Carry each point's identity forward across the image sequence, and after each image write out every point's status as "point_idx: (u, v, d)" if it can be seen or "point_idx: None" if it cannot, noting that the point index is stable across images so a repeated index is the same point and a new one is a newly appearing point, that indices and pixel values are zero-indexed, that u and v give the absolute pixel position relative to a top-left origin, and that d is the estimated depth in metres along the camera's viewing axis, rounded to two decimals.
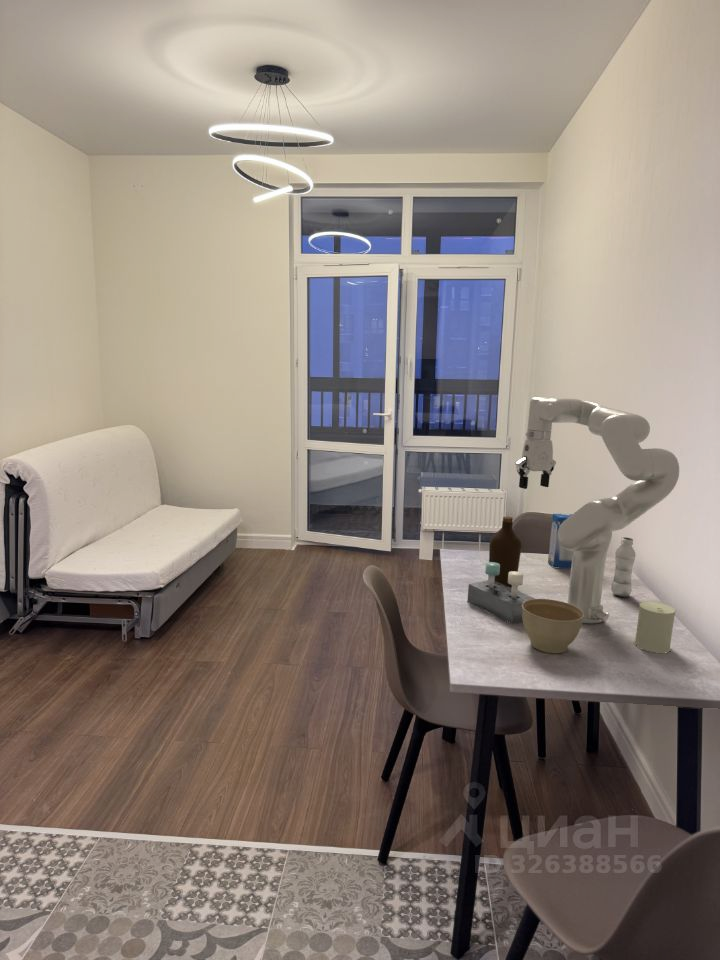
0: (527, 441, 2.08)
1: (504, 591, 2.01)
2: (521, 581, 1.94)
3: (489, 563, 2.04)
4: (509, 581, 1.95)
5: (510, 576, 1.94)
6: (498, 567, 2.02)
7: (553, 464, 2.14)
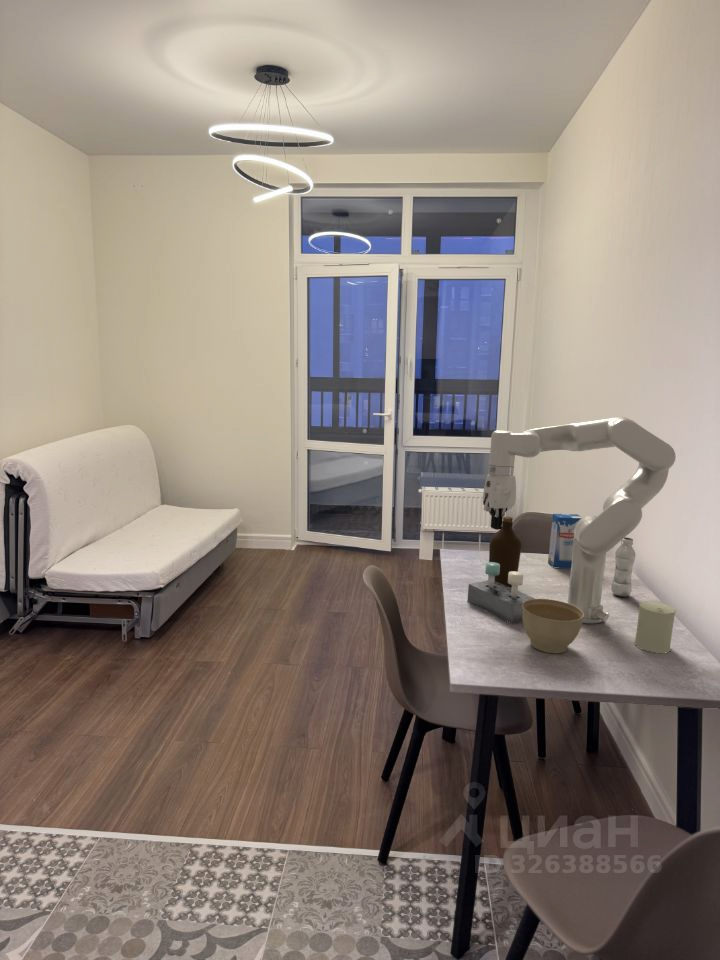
0: (488, 477, 1.96)
1: (504, 591, 2.01)
2: (521, 581, 1.94)
3: (489, 563, 2.04)
4: (509, 581, 1.95)
5: (510, 576, 1.94)
6: (498, 567, 2.02)
7: (508, 507, 2.02)
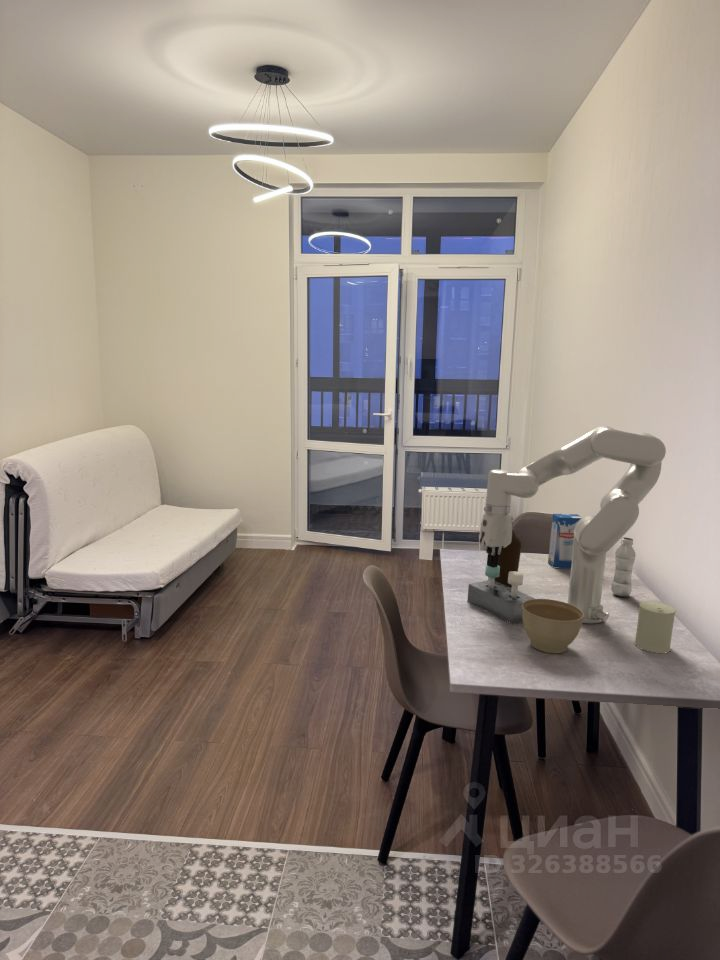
0: (485, 516, 1.99)
1: (504, 591, 2.01)
2: (521, 581, 1.94)
3: None
4: (509, 581, 1.95)
5: (510, 576, 1.94)
6: (498, 569, 2.02)
7: None
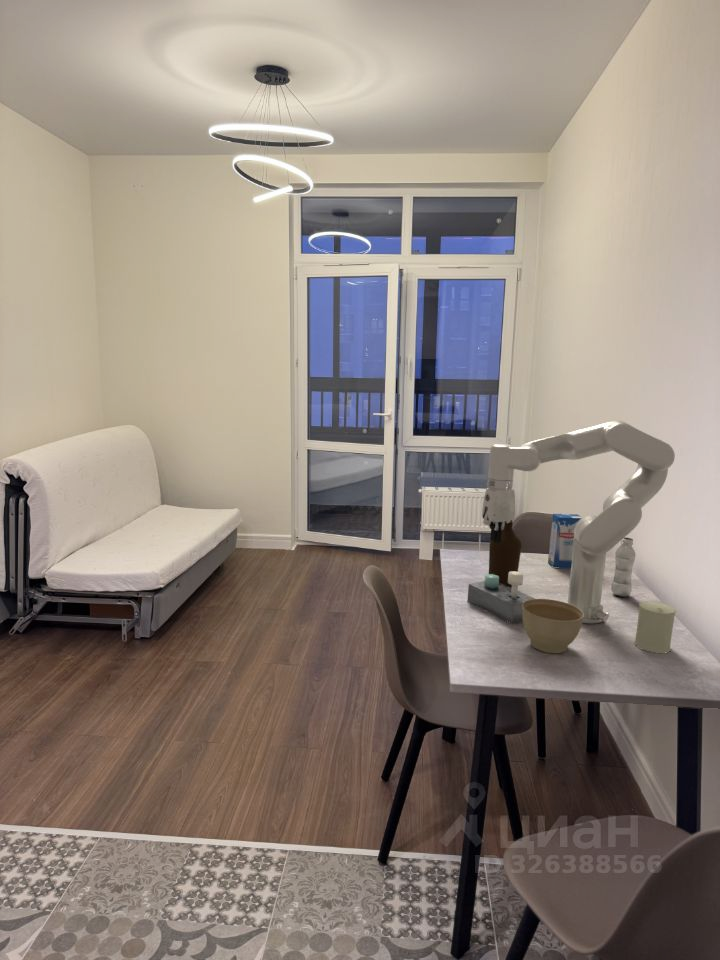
0: (488, 490, 1.97)
1: (504, 591, 2.01)
2: (521, 581, 1.94)
3: (488, 575, 2.05)
4: (509, 581, 1.95)
5: (510, 576, 1.94)
6: (497, 579, 2.03)
7: (507, 520, 2.02)
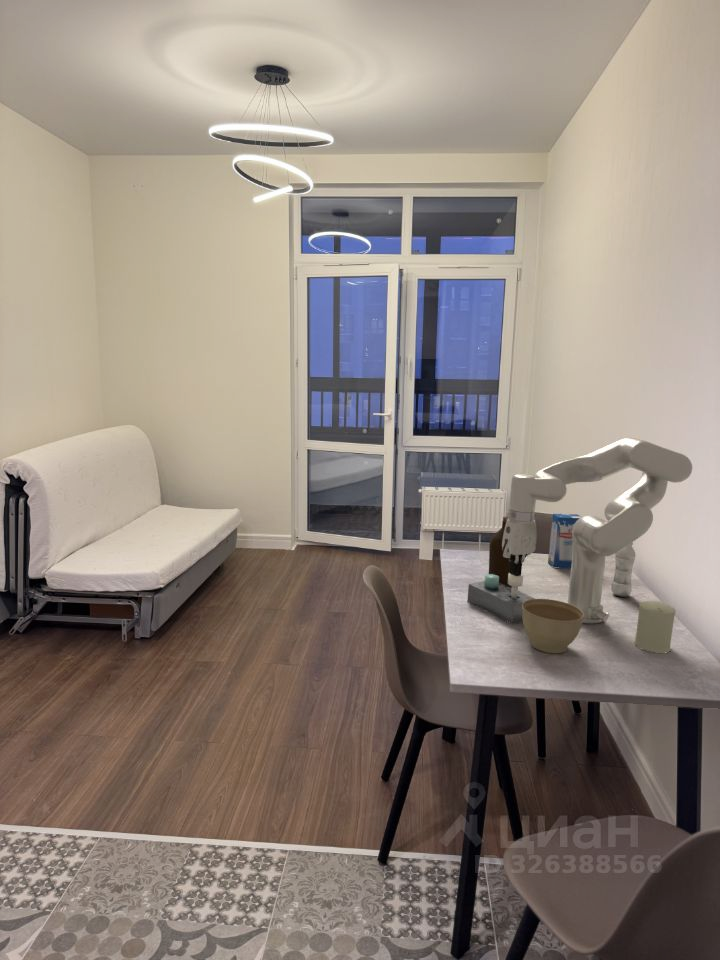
0: (508, 522, 1.90)
1: (504, 591, 2.01)
2: (521, 582, 1.94)
3: (488, 575, 2.05)
4: (509, 582, 1.95)
5: (510, 577, 1.94)
6: (497, 579, 2.03)
7: (528, 552, 1.95)
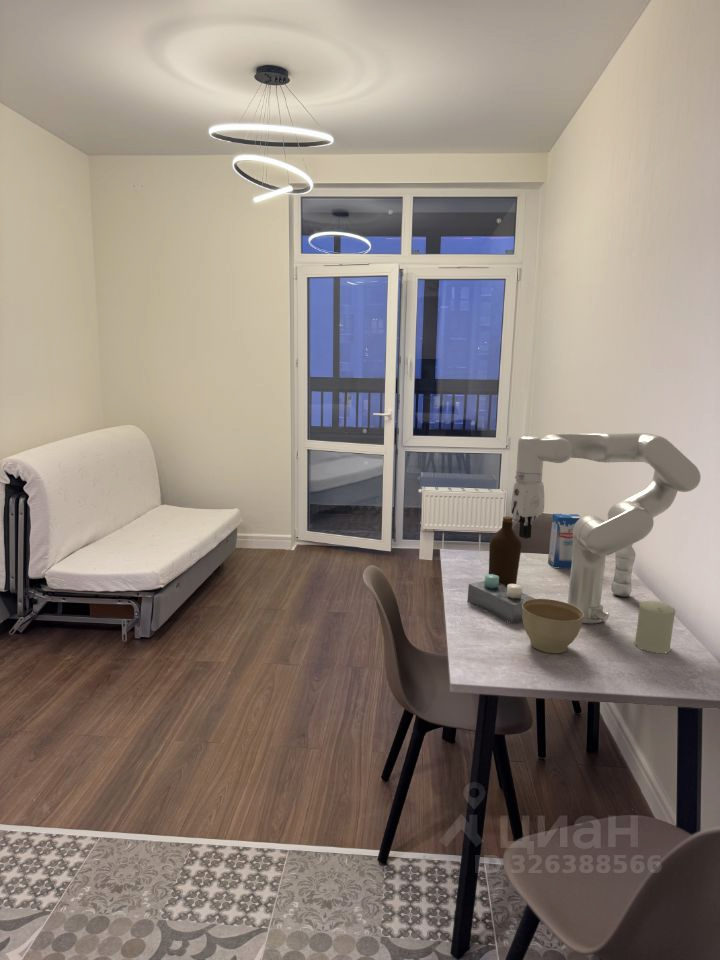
0: (517, 484, 1.90)
1: (504, 591, 2.01)
2: (520, 594, 1.94)
3: (488, 575, 2.05)
4: (508, 594, 1.95)
5: (509, 589, 1.95)
6: (497, 579, 2.03)
7: (536, 514, 1.96)
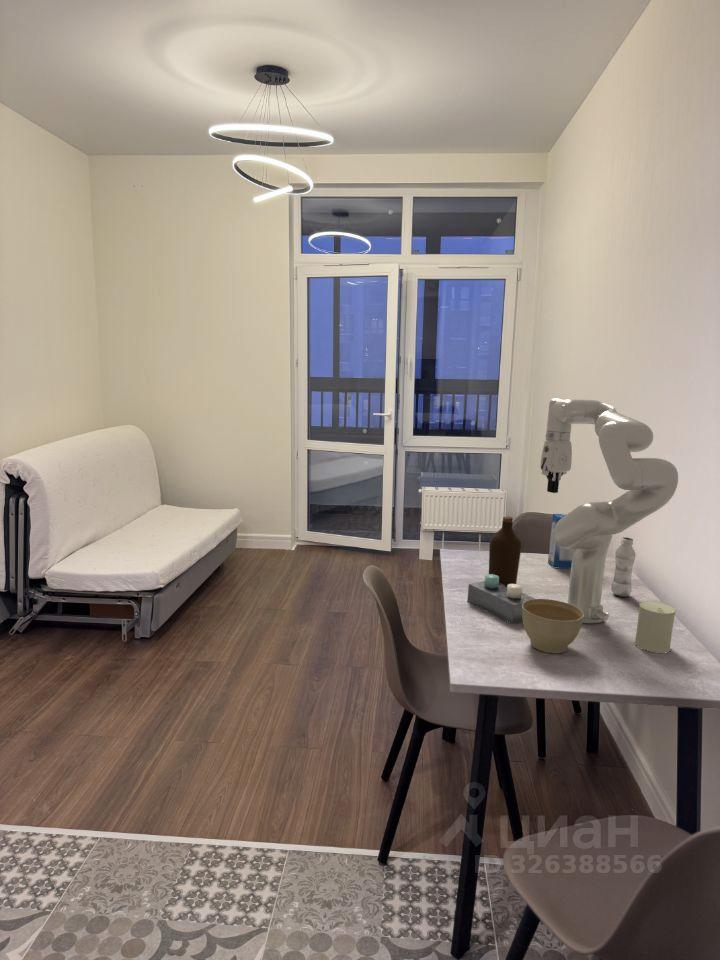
0: (547, 442, 2.07)
1: (504, 591, 2.01)
2: (520, 594, 1.94)
3: (488, 575, 2.05)
4: (508, 594, 1.95)
5: (509, 589, 1.95)
6: (497, 579, 2.03)
7: (564, 472, 2.12)
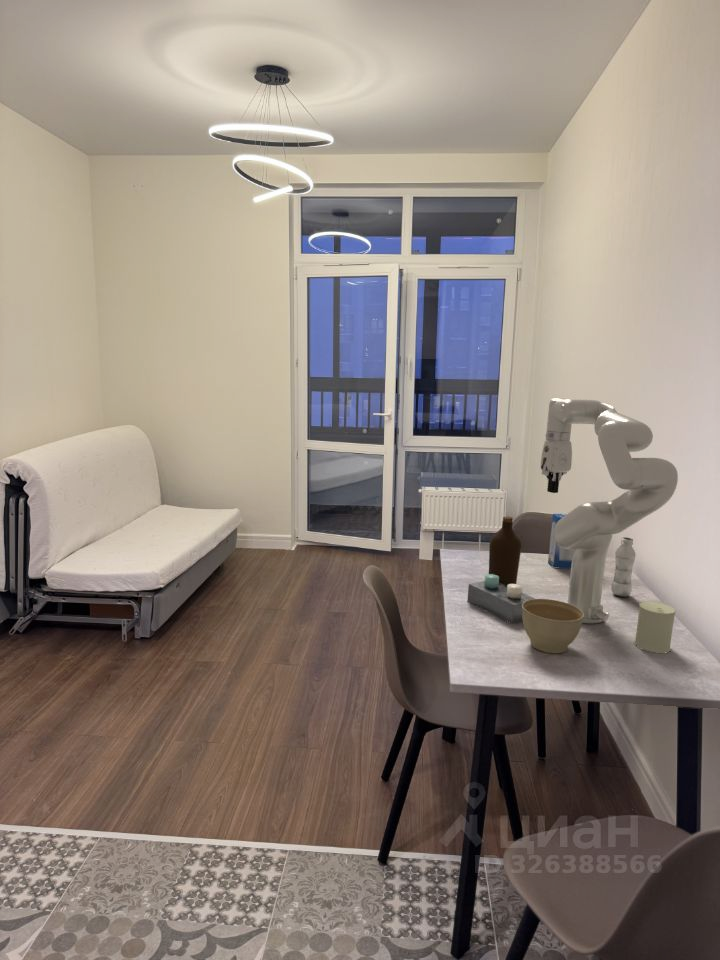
0: (547, 442, 2.07)
1: (504, 591, 2.01)
2: (520, 594, 1.94)
3: (488, 575, 2.05)
4: (508, 594, 1.95)
5: (509, 589, 1.95)
6: (497, 579, 2.03)
7: (564, 472, 2.12)
